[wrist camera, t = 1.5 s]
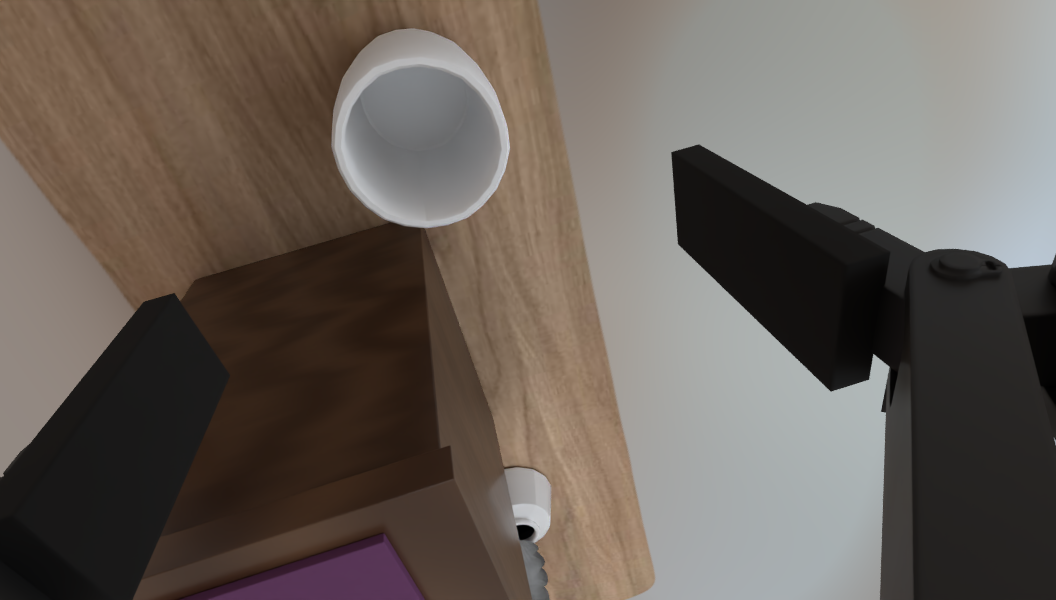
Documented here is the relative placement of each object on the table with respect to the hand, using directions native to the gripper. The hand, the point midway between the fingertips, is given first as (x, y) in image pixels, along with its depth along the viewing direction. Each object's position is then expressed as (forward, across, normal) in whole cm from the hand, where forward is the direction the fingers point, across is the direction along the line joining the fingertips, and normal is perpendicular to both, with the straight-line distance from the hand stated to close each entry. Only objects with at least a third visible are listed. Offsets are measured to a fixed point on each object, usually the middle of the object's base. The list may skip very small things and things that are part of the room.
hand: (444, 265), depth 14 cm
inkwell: (+26, -4, -46) cm, 53 cm away
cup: (+26, 0, 0) cm, 26 cm away
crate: (+26, -11, -19) cm, 34 cm away
